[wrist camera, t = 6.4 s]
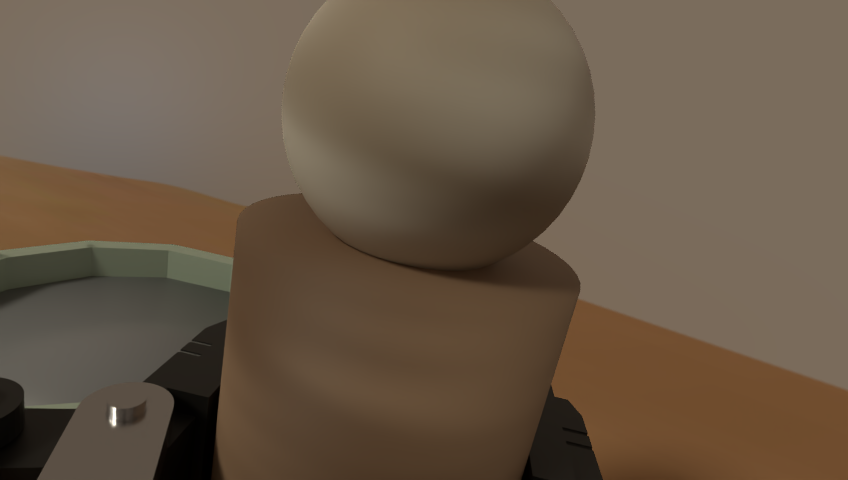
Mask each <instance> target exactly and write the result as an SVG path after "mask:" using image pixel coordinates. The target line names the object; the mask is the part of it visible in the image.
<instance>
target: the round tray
mask: <svg viewBox="0 0 848 480" xmlns="http://www.w3.org/2000/svg"><path fill="white" fill-rule="evenodd" d="M232 268H233V258H231V257H227V256H222V255H218V254H213V253H209V252H205V251H200V250H196V249H191V248H187V247H183V246H178V245H173V244H151V243H129V242H107V241H81V242H72V243H63V244H54V245H45V246H36V247H27V248H18V249H10V250H1V251H0V377H2V378H6V379H10V380H13V381H15V382H17V383H18V384H20V385H21V386H22V388H23V390H24V406H25V408H47V409H77V407H78V405H79V404H80V403H81V401H82V400H83V399H85V398H86V397H87V396H88V395H90V394H91V393H93V392H95V391H97V390H99V389H102V388H104V387H107V386H110V385H114V384H119V383H126V382H143V381H144V380H145V379H147V378H148V377H149V376H150V375H151V374H152V373H154V372H155V371H156V370H157V369H158V368H159V367H161V366H162V365H163V364H164V363H165V362H166V361H168V360H169V359H170V358H171V357H172V356H173V355H175V354H176V353H177V352H180V350H181V349H182V348H183V347H184V346H185V345H186V344H187V343H189V342H191V341H192V339H193V338H194V337H196V336H197V335H198V334H199V333H200V332H201V331H203V330H204V329H205V328H207V327H209V326H212V325H214V324H217V323H219V322H222V321H225V320H227V317H228V307H229V298H230V288H231V278H232Z"/></svg>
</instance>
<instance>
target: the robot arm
mask: <svg viewBox="0 0 848 480" xmlns="http://www.w3.org/2000/svg"><path fill="white" fill-rule="evenodd" d="M226 327H227V320H225V321H222V322H219V323H217V324H214V325H212V326H209V327H207V328H205V329H204V330H203V331H201V332H200V333H199V334H198V335H197V336H196V337H194V338H193V339H192V341H191V342H189V343H187V344H186V345H185V346H184V347H183V348H182V349H181V350H180V352H177V353H176V354H175V355H173V356H172V357H171V358H170V359H169V360H168V361H166V362H165V363H164V364H163V365H162V366H161V367H159V368H158V369H157V370H156V371H155V372H154V373H152V374H151V375H150V376H149V377H148V378H147V379H145V380H144V381H143V382H126V383H119V384H114V385H110V386H107V387H104V388H102V389H99V390H97V391H95V392H93V393H91V394H90V395H88V396H87V397H86V398H85V399H83V400H82V401H81V403H80V404H79V405H78V407H77V409H47V408H25V406H24V390H23V388H22V386H21V385H20V384H18V383H17V382H15V381H13V380H10V379H6V378H2V377H0V480H211V474H212V464H213V454H214V445H215V435H216V425H217V415H218V405H219V396H220V386H221V376H222V366H223V356H224V347H225V337H226ZM521 480H603V479H602V476H601V473H600V470H599V467H598V464H597V461H596V457H595V454H594V451H592V445H591V442H590V439H589V436H587V430H586V427H585V424H584V421H583V418H582V416H581V415H580V413H579V412H578V411H577V410H576V409H575V408H574V407H573V405H572V404H571V403H570V402H569V401H568V400H566V399H562V398H558V397H554V394H553V390H552V386H550V389H549V392H548V395H547V399H546V402H545V405H544V408H543V411H542V415H541V418H540V421H539V424H538V427H537V431H536V434H535V437H534V440H533V443H532V447H531V450H530V453H529V456H528V460H527V463H526V466H525V469H524V472H523V476H522V479H521Z"/></svg>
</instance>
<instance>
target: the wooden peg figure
mask: <svg viewBox="0 0 848 480" xmlns="http://www.w3.org/2000/svg"><path fill="white" fill-rule="evenodd" d="M281 118H282V130H283V140H284V145H285V150H286V154H287V159H288V162H289V165H290V167H291V170H292V173H293V176H294V178H295V181H296V182H297V184H298V186H299V188H300V190H301V192H302V193H301V194H291V195H283V196H276V197H272V198H268V199H264V200H261V201H258V202H256V203H253V204H252V205H250V206H248V207H247V208H245V209H244V210H243V211H242V212H241V213H240V215H239V218H238V220H237V229H236V239H235V248H234V258H233V268H232V278H231V288H230V298H229V307H228V317H227V327H226V337H225V347H224V356H223V366H222V376H221V386H220V396H219V405H218V415H217V425H216V435H215V445H214V454H213V464H212V474H211V480H521V479H522V476H523V472H524V469H525V466H526V463H527V460H528V456H529V453H530V450H531V447H532V443H533V440H534V437H535V434H536V431H537V427H538V424H539V421H540V418H541V415H542V411H543V408H544V405H545V402H546V399H547V395H548V392H549V389H550V386H551V382H552V379H553V376H554V373H555V370H556V366H557V363H558V360H559V357H560V354H561V350H562V347H563V344H564V341H565V338H566V334H567V331H568V328H569V325H570V321H571V318H572V315H573V312H574V309H575V305H576V302H577V299H578V296H579V293H580V281H579V279H578V276H577V275H576V273H575V272H574V271H573V269H572V268H571V267H570V266H569V265H568V264H567V263H566V262H565V261H564V260H562V259H561V258H560V257H558V256H557V255H556V254H554V253H553V252H551V251H549V250H548V249H546V248H545V247H543V246H541V245H539V244H537V243H535V242H534V241H533V240H534V239H535V238H537V237H538V236H539V235H540V234H541V233H543V232H544V231H545V230H546V228H548V227H549V226H550V225H551V223H552V222H553V221H554V220H555V219H556V218H557V217H558V216H559V215H560V213H561V212H562V210H563V209H564V207H565V206H566V204H567V203H568V202H569V200H570V199H571V197H572V195H573V193H574V192H575V190H576V188H577V186H578V184H579V182H580V180H581V177H582V175H583V172H584V169H585V167H586V164H587V161H588V158H589V153H590V149H591V144H592V140H593V134H594V121H595V103H594V90H593V85H592V79H591V74H590V69H589V66H588V63H587V60H586V57H585V54H584V51H583V49H582V47H581V45H580V43H579V41H578V39H577V37H576V35H575V33H574V31H573V29H572V27H571V26H570V25H569V23H568V22H567V20H566V19H565V17H564V16H563V15H562V13H561V11H560V10H559V9H558V8H557V7H556V6H555V4H554V3H553V2H552V1H551V0H327V1H326V2H325V3H324V4H323V6H322V7H321V8H320V9H319V10H318V11H317V12H316V14H315V15H314V17H313V18H312V20H311V21H310V22H309V24H308V25H307V27H306V28H305V30H304V32H303V34H302V36H301V38H300V40H299V42H298V44H297V46H296V48H295V50H294V52H293V55H292V58H291V61H290V64H289V67H288V70H287V74H286V79H285V85H284V90H283V96H282V115H281Z"/></svg>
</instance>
